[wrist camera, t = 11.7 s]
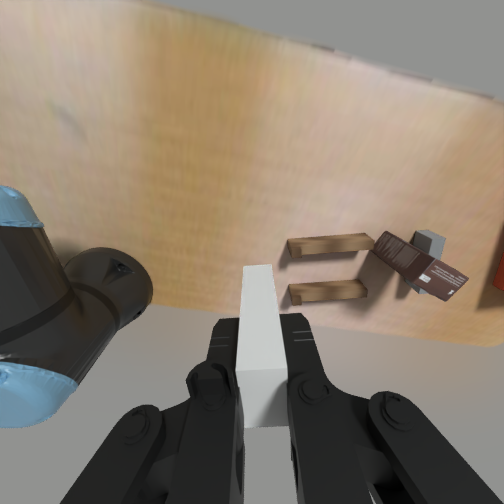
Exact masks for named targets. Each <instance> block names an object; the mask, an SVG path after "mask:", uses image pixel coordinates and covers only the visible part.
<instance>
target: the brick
mask: <svg viewBox="0 0 504 504" xmlns="http://www.w3.org/2000/svg"><path fill="white" fill-rule="evenodd" d="M493 286H495V287H497V288H499V289H501V290H503V291H504V252H503V255H502V258H501V261H500V264H499V267H498V270H497V273H496V276H495V279H494V282H493Z"/></svg>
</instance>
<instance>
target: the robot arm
mask: <svg viewBox="0 0 504 504" xmlns="http://www.w3.org/2000/svg"><path fill="white" fill-rule="evenodd" d="M43 227H44V224H43V223H42V222H40V221H39V219H38V217H37V216H36V214H35V212H34V210H33V209H32V207H31V205H30V203H29V202H28V200H27V198H26V197H25V196H24V195H23V194H22V193H21V192H19V191H18V190H16V189H14V188H11V187H8V186H2V185H0V428H22V427H28V426H32V425H36V424H38V423H41V422H43V421H45V420H47V419H48V418H50V417H51V416H52V415H53V414H55V413H56V412H57V410H58V409H59V408H60V407H61V406H62V404H63V403H64V402H65V401H66V399H67V398H68V397H69V396H70V395H71V394H72V393H73V392H74V391H75V390H76V389H77V387H78V386H79V384H80V383H81V381H82V380H83V379H84V377H85V376H86V374H87V373H88V371H89V370H90V368H91V367H92V366H93V364H94V363H95V362H96V360H97V359H98V357H99V356H100V355H101V353H102V352H103V350H104V349H105V347H106V346H107V345H108V343H109V342H110V340H111V339H112V338H113V336H114V335H115V333H116V332H117V331H118V330H120V329H121V328H123V327H124V326H126V325H127V324H129V323H130V322H132V321H133V320H135V319H136V318H137V317H139V316H140V315H141V314H142V313H143V312H144V310H145V309H146V307H147V306H148V305H149V303H150V301H151V298H152V294H153V287H152V282H151V279H150V277H149V275H148V273H147V271H146V270H145V269H144V267H143V266H142V265H141V264H140V263H139V262H138V261H136V260H135V259H134V258H133V257H131V256H129V255H128V254H126V253H124V252H121V251H119V250H116V249H111V248H104V247H99V248H91V249H88V250H86V251H83V252H82V253H80V254H78V255H77V256H75V257H74V258H72V259H71V260H70V261H69V262H68V263H67V264H66V265H65V267H64V269H63V268H62V266H61V264H60V262H59V260H58V257H57V255H56V253H55V251H54V249H53V247H52V245H51V243H50V241H49V239H48V237H47V235H46V233H45V231H44V229H43ZM186 384H187V387H188V390H189V394H190V398H189V399H188V400H186V401H185V402H183V403H180V404H178V405H176V406H174V407H171V408H168V409H165V410H163V411H159V409H158V408H157V407H155V406H153V405H141V406H138V407H136V408H133V409H132V410H130V411H129V412H128V413H126V414H125V415H124V416H123V417H122V418H121V419H120V420H119V421H118V422H117V424H116V425H115V426H114V427H113V429H112V430H111V432H110V433H109V435H108V436H107V437H106V439H105V440H104V442H103V443H102V445H101V446H100V447H99V449H98V450H97V451H96V453H95V454H94V456H93V457H92V459H91V460H90V461H89V463H88V464H87V466H86V467H85V468H84V470H83V471H82V473H81V474H80V476H79V477H78V478H77V480H76V481H75V483H74V484H73V486H72V487H71V488H70V490H69V491H68V493H67V494H66V495H65V497H64V498H63V500H62V501H61V503H60V504H243V502H244V465H245V446H244V439H243V434H244V426H245V428H254V427H274V426H289V429H290V437H291V460H293V468H294V476H295V485H296V493H297V501H298V504H373V502H372V499H371V496H370V493H371V495H372V497H373V499H374V501H375V503H376V504H503V503H502V501H501V500H500V499H499V498H498V497H497V496H496V495H495V494H494V492H493V491H492V490H491V489H490V488H489V487H488V486H487V485H486V484H485V482H484V481H483V480H482V479H481V478H480V477H479V475H478V474H477V473H476V472H475V471H474V470H473V469H472V468H471V467H470V465H469V464H468V463H467V462H466V461H465V460H464V459H463V457H462V456H461V455H460V454H459V453H458V452H457V451H456V450H455V449H454V447H453V446H452V445H451V444H450V443H449V442H448V441H447V439H446V438H445V437H444V436H443V435H442V434H441V433H440V432H439V431H438V429H437V428H436V427H435V426H434V425H433V424H432V423H431V421H430V420H429V419H428V418H427V417H426V416H425V415H424V414H423V413H422V411H421V410H420V409H419V408H418V407H417V406H416V405H415V404H413V403H412V402H411V401H410V400H409V399H407V398H405V397H403V396H401V395H400V394H397V393H393V392H389V391H383V392H378V393H376V394H374V395H373V396H372V397H371V399H370V400H369V399H366V398H362V397H358V396H354V395H351V394H348V393H345V392H343V391H341V390H339V389H338V388H336V387H335V386H334V385H333V384H332V383H331V382H330V381H329V380H328V378H327V376H326V374H325V372H324V369H323V366H322V363H321V360H320V356H319V353H318V350H317V347H316V344H315V341H314V338H313V335H312V332H311V328H310V325H309V322H308V320H307V319H306V318H305V317H304V316H303V315H302V314H301V313H291V314H279V311H278V305H277V298H276V292H275V285H274V279H273V272H272V266H271V264H266V265H252V266H244V270H243V283H242V295H241V308H240V318H226V319H219V321H218V322H217V323H216V325H215V326H214V328H213V331H212V336H211V341H210V346H209V350H208V354H207V359H206V361H204V362H202V363H200V364H198V365H197V366H195V367H194V368H193V369H192V370H191V371H190V372H189V374H188V377H187V378H186ZM368 489H369V490H368ZM369 491H370V493H369Z"/></svg>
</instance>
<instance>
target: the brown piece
mask: <svg viewBox="0 0 504 504" xmlns="http://www.w3.org/2000/svg"><path fill="white" fill-rule="evenodd" d="M288 248H289V251H290V254H291V257H292V258H302V255H305V254H318V253H332V252H345V251H358V250H372V249H373V248H374V240H373V239H372V238H371V237H369V236H368V235H367V234H365V233H359V234H346V235H333V236H321V237H308V238H295V239H288ZM367 292H368V290H367V288H366V287H365V286H364V285H363V283H362V282H361V281H360V280H359V279H358V280H344V281H330V282H315V283H301V284H289V293H290V297H291V301H292V305H293V306H296V305H302V302H303V301H318V300H333V299H347V298H362V297H367Z"/></svg>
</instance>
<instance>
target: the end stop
mask: <svg viewBox="0 0 504 504" xmlns="http://www.w3.org/2000/svg"><path fill="white" fill-rule="evenodd" d="M445 240H446V238H444V237H442V236H440V235H438V234H436V233H434V232H432V231H429V230H419V231H416V232H415V237H414V242H413V246H415V247H416V248H418V249H420V250H422V251H423V252H425V253H427V254H429V255H431V256H432V257H434V258H436V259H438V260H440V258H441V254H442V251H443V247H444V243H445ZM405 282H406V283H407V284H408V285H409V286H411V287H412V288H413V289H414V290H415V291H416V292H417V293H418V294H427V292H426V291H425V290H423V289H421V288H419V287H417V286H415V285H413V284H412V283H411V282H409V281H408V280H407V279H406V280H405Z"/></svg>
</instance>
